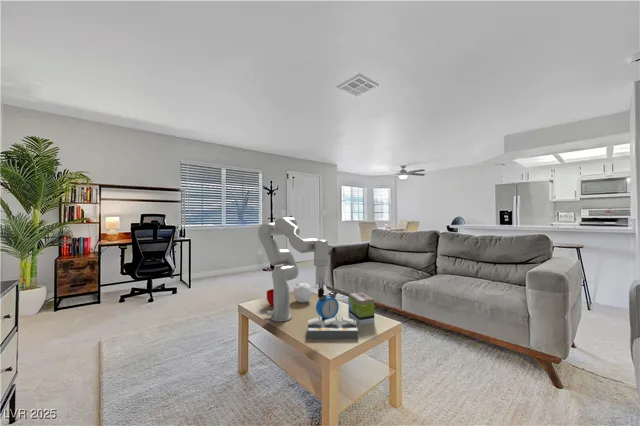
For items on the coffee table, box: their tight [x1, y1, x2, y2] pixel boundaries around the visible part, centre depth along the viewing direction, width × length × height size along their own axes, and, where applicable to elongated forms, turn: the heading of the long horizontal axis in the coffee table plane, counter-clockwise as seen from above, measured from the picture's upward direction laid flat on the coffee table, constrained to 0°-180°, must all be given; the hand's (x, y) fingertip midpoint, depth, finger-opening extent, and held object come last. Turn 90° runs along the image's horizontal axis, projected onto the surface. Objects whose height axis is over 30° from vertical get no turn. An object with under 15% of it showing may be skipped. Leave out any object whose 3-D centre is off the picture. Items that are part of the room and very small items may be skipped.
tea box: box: [347, 292, 375, 327], centre depth 165 cm, size 15×10×15 cm
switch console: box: [306, 320, 359, 340], centre depth 148 cm, size 26×13×5 cm, turn 90°
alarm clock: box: [315, 292, 340, 321], centre depth 169 cm, size 13×6×15 cm, turn 121°
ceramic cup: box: [266, 288, 274, 308], centre depth 193 cm, size 13×17×10 cm
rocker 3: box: [341, 315, 357, 326], centre depth 149 cm, size 7×4×1 cm, turn 90°
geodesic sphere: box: [292, 281, 313, 304], centre depth 200 cm, size 15×14×14 cm
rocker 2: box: [324, 315, 340, 325], centre depth 149 cm, size 7×4×1 cm, turn 90°
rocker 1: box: [307, 316, 323, 326], centre depth 149 cm, size 7×4×1 cm, turn 90°
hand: (321, 296), depth 149 cm, fingers closed
